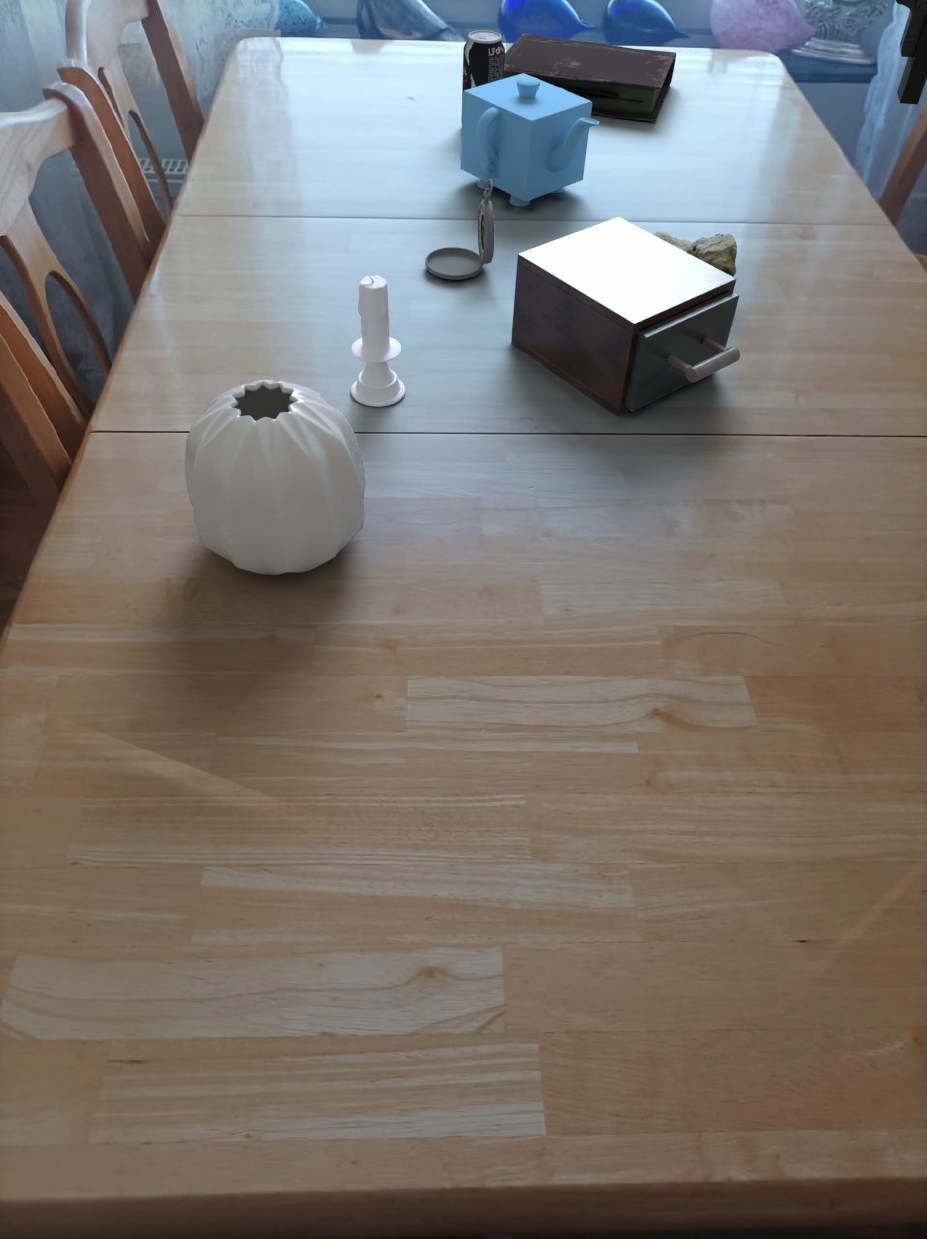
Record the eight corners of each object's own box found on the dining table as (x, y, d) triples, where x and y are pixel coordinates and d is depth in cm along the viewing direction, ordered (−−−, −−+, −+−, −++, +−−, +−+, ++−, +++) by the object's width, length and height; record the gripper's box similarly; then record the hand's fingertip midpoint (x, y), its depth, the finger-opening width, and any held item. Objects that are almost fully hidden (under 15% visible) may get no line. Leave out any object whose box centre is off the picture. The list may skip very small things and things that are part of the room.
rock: (646, 259, 113) (631, 285, 106) (658, 204, 109) (644, 227, 102) (734, 278, 111) (726, 306, 104) (750, 223, 107) (743, 247, 100)
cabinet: (713, 368, 96) (736, 278, 88) (617, 416, 90) (634, 324, 82) (605, 303, 104) (618, 216, 96) (510, 343, 98) (517, 253, 90)
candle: (368, 413, 89) (361, 297, 80) (341, 386, 92) (331, 270, 83) (416, 396, 91) (414, 281, 82) (388, 370, 94) (384, 255, 85)
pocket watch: (413, 266, 108) (412, 177, 101) (469, 245, 112) (472, 158, 104) (459, 295, 104) (461, 205, 97) (515, 272, 108) (521, 184, 100)
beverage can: (462, 119, 138) (464, 27, 129) (500, 121, 138) (506, 29, 129) (460, 135, 134) (462, 40, 125) (500, 137, 134) (505, 42, 125)
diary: (520, 63, 155) (523, 29, 151) (671, 83, 151) (677, 48, 147) (491, 103, 143) (493, 66, 139) (654, 125, 138) (660, 88, 135)
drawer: (750, 385, 92) (772, 312, 86) (662, 432, 87) (679, 357, 81) (617, 306, 102) (629, 235, 96) (530, 343, 96) (537, 271, 90)
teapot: (445, 186, 123) (447, 78, 113) (530, 156, 130) (538, 52, 120) (542, 237, 114) (552, 125, 104) (627, 202, 121) (645, 94, 111)
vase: (252, 467, 83) (229, 332, 73) (396, 509, 80) (391, 373, 70) (164, 568, 74) (124, 430, 64) (321, 619, 71) (304, 482, 61)
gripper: (1117, -275, 66) (979, 89, 84) (924, -280, 68) (828, 77, 85) (1145, -264, 61) (992, 120, 79) (936, -269, 63) (832, 107, 81)
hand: (907, 98), depth 82 cm, fingers closed
